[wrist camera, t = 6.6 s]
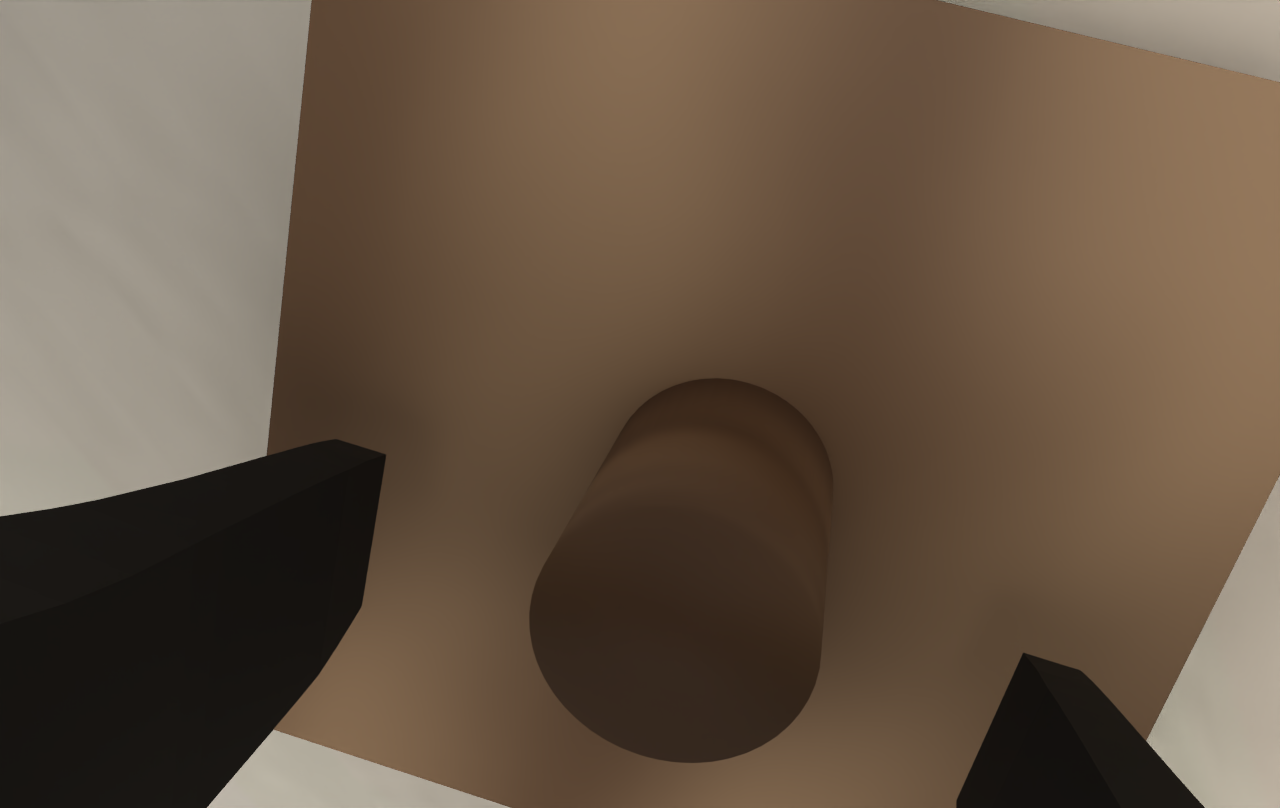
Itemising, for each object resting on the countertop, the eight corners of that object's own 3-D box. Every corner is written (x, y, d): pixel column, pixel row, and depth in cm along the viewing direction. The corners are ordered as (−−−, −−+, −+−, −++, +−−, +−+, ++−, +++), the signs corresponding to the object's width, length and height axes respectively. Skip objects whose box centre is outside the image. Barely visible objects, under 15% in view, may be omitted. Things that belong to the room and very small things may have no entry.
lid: (270, 684, 17) (83, 898, 13) (361, -137, 13) (117, -204, 9) (1019, 926, 16) (1070, 1247, 12) (1412, 115, 12) (1717, 179, 7)
